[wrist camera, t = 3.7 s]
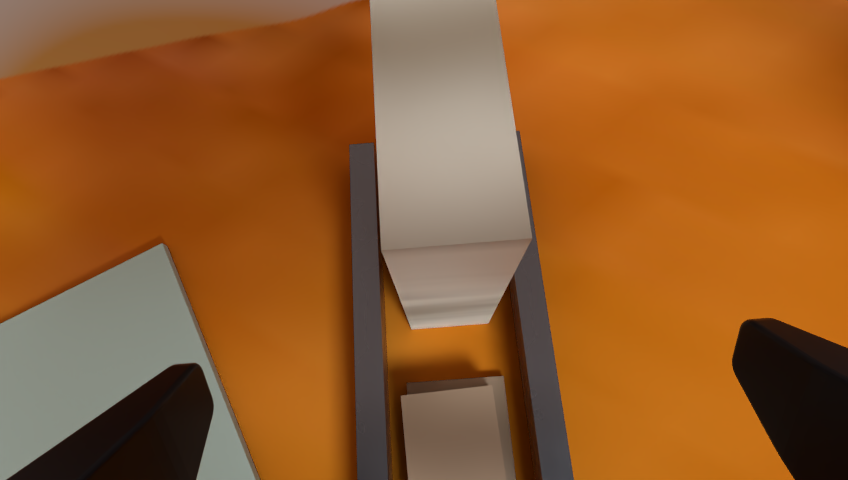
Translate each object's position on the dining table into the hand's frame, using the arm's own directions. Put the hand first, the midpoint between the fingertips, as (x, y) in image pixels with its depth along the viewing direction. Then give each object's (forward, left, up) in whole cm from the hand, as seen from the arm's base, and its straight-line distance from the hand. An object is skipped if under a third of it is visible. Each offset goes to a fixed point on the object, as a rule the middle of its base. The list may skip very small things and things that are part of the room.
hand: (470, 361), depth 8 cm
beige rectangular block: (+6, +2, -11) cm, 12 cm away
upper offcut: (-2, 0, -10) cm, 11 cm away
